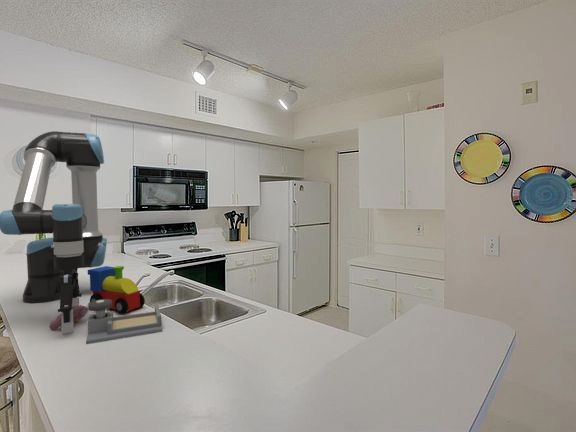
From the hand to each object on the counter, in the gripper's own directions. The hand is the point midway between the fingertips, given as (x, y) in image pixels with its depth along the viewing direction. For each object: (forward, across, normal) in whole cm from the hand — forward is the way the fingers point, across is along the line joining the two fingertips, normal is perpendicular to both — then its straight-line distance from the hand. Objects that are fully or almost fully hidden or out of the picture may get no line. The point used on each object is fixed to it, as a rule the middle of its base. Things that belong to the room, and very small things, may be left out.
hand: (71, 325), depth 100 cm
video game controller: (0, -1, 0) cm, 1 cm away
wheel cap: (-3, +9, +8) cm, 13 cm away
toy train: (0, -13, +12) cm, 17 cm away
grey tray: (0, +9, +15) cm, 17 cm away
